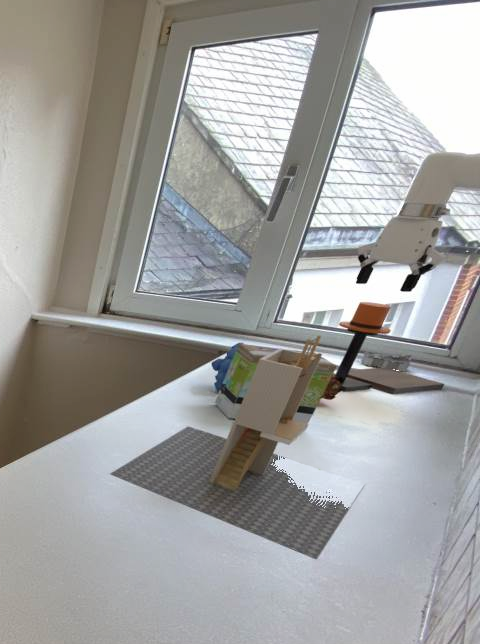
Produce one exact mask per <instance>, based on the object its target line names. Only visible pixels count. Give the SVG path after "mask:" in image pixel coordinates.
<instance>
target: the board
mask: <svg viewBox="0 0 480 644" xmlns="http://www.w3.org/2000/svg"><path fill="white" fill-rule="evenodd" d="M347 377H348V378H351V379H355V380H358V381H361V382H364V383H368V384H371V385H372V387H371V389H376V390H379V391H382V392H385V393H387V394H388V393H389V394H391V395H396V394H407V393H406V392H408V393H416V392H415V391H417V392H424V391H426V392H427V391H435V390H437V391H438V390H443V388H444V386H445V383H443V382H440V381H436V380H432V379H429V378H425V377H421V376H418V375H415V374H412V373H411V374H410V373H407V372H400V371H396V370H393V369H389V368H385V367H384V368H380V367H373V368H372V367H371V368H363V369H362V368H361V369H350V371H349V373H348V375H347Z"/></svg>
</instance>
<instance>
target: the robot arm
mask: <svg viewBox="0 0 480 644" xmlns="http://www.w3.org/2000/svg"><path fill="white" fill-rule="evenodd" d="M454 191H461V192H462V191H463V192H465V191H466V192H480V152H478V153H470V154H469V153H465V152H457V151H456V152H455V151H454V152H453V151H436V152H431V153H428V154H426V155H425V156H424V157H423V159H422V160H421V162H420V163H419V166H418V168H417V169H416V172H415V174H414V176H413V179H412V181H411V183H410V185H409V187H408V189H407V191H406V194H405V195H404V198H403V199H402V202H401V203H400V205H399V208H398V210H397V212H396V214H395V216H392V217H391V218H390V219H389V220H388V222H387V223H386V225H385V226H384V227H383V229H382V231H381V232H380V233H379V235H378V237H377V239H376V241H374V242H371V243H368V244H365V245H361V246H358V248H357V255H358V256H357V260H358V261H359V266H360V267H361V268H360V270H359V272H358V274H357V276H356V282H355V284H358V285H366V284H368V281H369V279H370V277H371V276H372V273H373V271H374V267H373V266H374V265H376V264H378V263H379V262H384V263H392V264H397V265H398V264H399V265H406V266H407V265H408V266H409V269H410V272H411V273H408V274H407V275H406V277H405V279H404V281H403V283H402V285H401V288H400V289H399V291H400V292H403V293H409V292H410V293H411V292H412V291H413V290H415V288H416V287H417V285H418V282H419V280H420V279H421V277H422V275H425V274H426V273H428V272H430V271H432V270H434V269H435V268H436V267H437V266H439V265H440V264H441V263H443V262H444V261H445V260H446V256H444V255H443V254H442V253H440V252H439V251H438V250H436V249H435V247H436V245H437V242H438V240H439V237H440V233H441V230H442V226H443V222H444V221H443V220H440V219H441V218H442V216H448V215H449V214H450V213H451V209H450V208H447V204H448V202H449V200H450V199H451V197H452V194H453V192H454ZM368 251H370V253H369V256H368ZM430 258H431V261H430V262H429V260H430Z"/></svg>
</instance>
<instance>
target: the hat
mask: <svg viewBox="0 0 480 644" xmlns="http://www.w3.org/2000/svg"><path fill="white" fill-rule="evenodd" d="M391 308H392V306H391V305H388V304H384V303H378V302H370V301H360V302H359V304H358V305H357V308H356V309H355V311H354V314H353V316H352V318H351V320H350V321H340V322H339V324H338V326H340V327H342V328H344V329H352V330H357V331H362V332H369V333H378V334H380V335H381V334H382V335H387V334H390V332H391V331H392V330H391V329H390V328H387V327H384V326H383V324H384V323H385V321H386V318H387V316H388V314H389V313H390V310H391ZM378 334H377V335H378Z"/></svg>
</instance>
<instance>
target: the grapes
mask: <svg viewBox="0 0 480 644" xmlns="http://www.w3.org/2000/svg"><path fill="white" fill-rule="evenodd" d="M239 344H245V343H244V342H238V343H235V344H234V345H232V346H231V347H230V349H229V350H227V351H226V352H225V353H226V356H224V358H217V359H215V360H214V361H211V363H210V364H211V367H212V370H214V371H215V372H217V373H216V374H215V375H214V379H215V382H214V383H213V384H214V388H215V389H216V391H217V392H219V391H220V389H221V386H222V384H223V381H224V379H225V376H226V374H227V371H228V369H229V367H230V364H231V362H232V359H233V357H234V355H235V352H236V350H237V348H238V345H239Z"/></svg>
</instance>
